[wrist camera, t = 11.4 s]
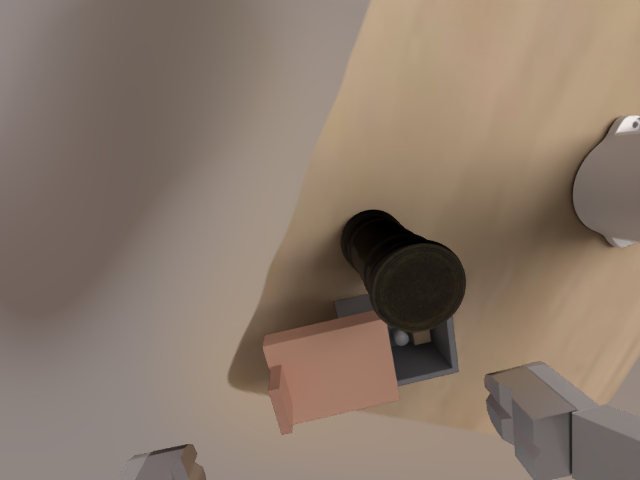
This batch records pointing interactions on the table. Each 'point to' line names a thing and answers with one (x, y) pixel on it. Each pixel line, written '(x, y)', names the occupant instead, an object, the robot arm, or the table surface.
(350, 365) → the lid
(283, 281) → the table surface
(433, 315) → the container
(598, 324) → the table surface
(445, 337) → the tub
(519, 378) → the robot arm
